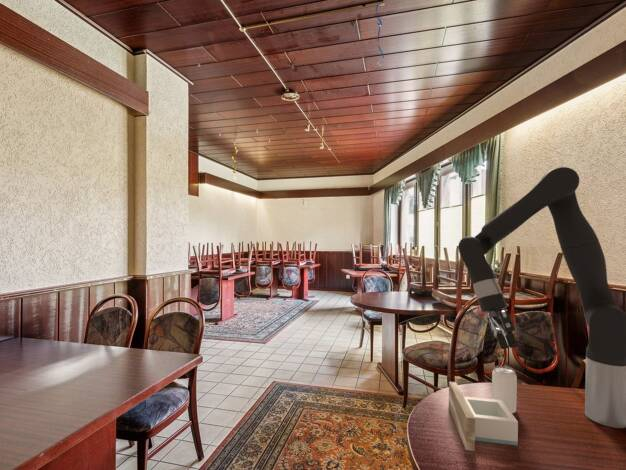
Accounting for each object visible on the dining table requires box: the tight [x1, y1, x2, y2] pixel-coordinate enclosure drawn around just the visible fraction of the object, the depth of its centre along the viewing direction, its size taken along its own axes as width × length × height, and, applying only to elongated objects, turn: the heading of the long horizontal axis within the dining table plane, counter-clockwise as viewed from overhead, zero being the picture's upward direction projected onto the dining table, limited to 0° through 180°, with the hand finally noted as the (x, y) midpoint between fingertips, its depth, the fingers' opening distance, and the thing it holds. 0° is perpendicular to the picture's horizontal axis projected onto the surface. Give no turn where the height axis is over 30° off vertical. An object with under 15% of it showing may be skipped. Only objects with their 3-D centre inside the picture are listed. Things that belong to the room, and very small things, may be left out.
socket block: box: [464, 396, 519, 446], centre depth 89 cm, size 11×11×6 cm
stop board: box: [448, 381, 476, 452], centre depth 91 cm, size 2×20×8 cm, turn 169°
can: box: [491, 365, 518, 415], centre depth 100 cm, size 6×6×12 cm
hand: (509, 348), depth 99 cm, fingers open, 8 cm apart
